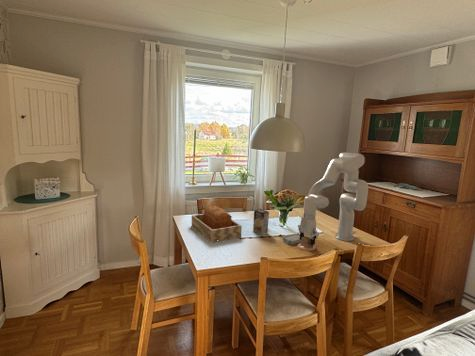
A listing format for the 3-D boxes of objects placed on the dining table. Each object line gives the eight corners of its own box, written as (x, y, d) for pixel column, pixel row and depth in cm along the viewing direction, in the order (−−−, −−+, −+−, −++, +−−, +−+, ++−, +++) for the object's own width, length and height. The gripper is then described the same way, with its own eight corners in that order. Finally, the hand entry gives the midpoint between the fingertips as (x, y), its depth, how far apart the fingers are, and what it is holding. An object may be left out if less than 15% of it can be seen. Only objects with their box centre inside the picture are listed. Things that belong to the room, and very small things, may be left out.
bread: (215, 237, 190) (216, 214, 188) (201, 224, 213) (201, 204, 210) (233, 234, 197) (234, 212, 194) (218, 222, 219) (218, 203, 217)
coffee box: (252, 231, 202) (253, 210, 200) (258, 229, 207) (259, 208, 204) (262, 235, 196) (263, 213, 193) (268, 233, 201) (269, 211, 198)
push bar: (296, 238, 193) (296, 234, 192) (301, 241, 189) (302, 237, 188) (283, 242, 186) (283, 237, 186) (288, 245, 182) (289, 240, 182)
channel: (298, 236, 197) (298, 232, 197) (307, 240, 189) (307, 237, 189) (282, 239, 190) (282, 236, 189) (291, 244, 182) (291, 240, 182)
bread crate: (218, 221, 221) (218, 211, 220) (241, 236, 192) (241, 225, 191) (191, 225, 210) (191, 215, 208) (211, 242, 181) (211, 230, 179)
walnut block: (307, 243, 183) (307, 235, 182) (313, 246, 178) (314, 238, 177) (300, 245, 180) (301, 237, 179) (306, 248, 175) (307, 240, 174)
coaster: (306, 242, 186) (306, 241, 186) (319, 248, 177) (319, 247, 177) (294, 245, 181) (294, 244, 181) (306, 252, 172) (306, 251, 171)
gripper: (295, 212, 181) (293, 238, 184) (315, 220, 166) (312, 248, 169) (303, 211, 185) (301, 236, 188) (324, 219, 170) (321, 245, 173)
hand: (307, 241), depth 178 cm, fingers open, 9 cm apart
